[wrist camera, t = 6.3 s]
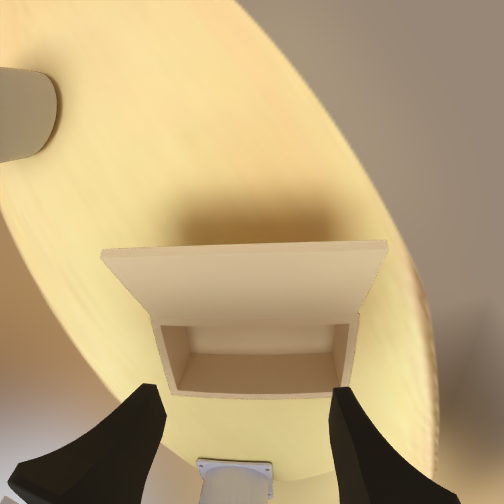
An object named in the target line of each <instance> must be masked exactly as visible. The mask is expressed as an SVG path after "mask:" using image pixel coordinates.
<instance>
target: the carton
mask: <svg viewBox="0 0 504 504" xmlns="http://www.w3.org/2000/svg"><path fill="white" fill-rule="evenodd" d="M359 317H360V314H359V312H358V313H357V315H356V316H340V317H319V318H291V319H175V318H153V317H152V316H150V319H151V323H152V327H153V331H154V335H155V339H156V343H157V346H158V350H159V354H160V357H161V361H162V364H163V368H164V371H165V375H166V378H167V381H168V385H169V388H170V391H171V394H172V395H178V396H190V397H204V398H222V399H261V400H270V399H309V398H327V397H332V393H333V388H336V387H349V383H350V378H351V372H352V366H353V360H354V353H355V347H356V340H357V332H358V325H359Z"/></svg>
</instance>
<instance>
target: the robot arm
mask: <svg viewBox="0 0 504 504" xmlns="http://www.w3.org/2000/svg"><path fill="white" fill-rule="evenodd" d="M166 418H167V415H166V412H165V409H164V407H163V404H162V401H161V398H160V395H159V392H158V389H157V386H156V385H155V384H146V383H143V384H142V385H141V386H140V387H138V388H137V389H136V390H135V391H134V392H133V393H132V394H131V395H130V396H129V397H128V398H127V399H126V400H125V401H124V402H123V403H122V404H121V405H120V406H119V407H118V408H117V409H115V410H114V411H113V412H112V413H111V414H110V415H109V416H107V417H106V418H105V419H104V420H103V421H101V422H100V423H99V424H98V425H97V426H96V427H94V428H93V429H91V430H90V431H88V432H87V433H86V434H84V435H83V436H81V437H79V438H78V439H76V440H75V441H73V442H71V443H69V444H67V445H66V446H64V447H62V448H60V449H58V450H56V451H53V452H51V453H49V454H46V455H44V456H41V457H38V458H35V459H32V460H28V461H25V462H21V463H19V464H18V465H17V467H16V468H15V470H14V472H13V473H12V475H11V476H10V478H9V480H8V485H9V487H10V488H11V489H12V490H13V491H14V492H15V493H16V494H18V496H19V497H20V498H22V499H23V500H24V501H25V502H26V503H27V504H141V499H142V494H143V490H144V485H145V481H146V479H147V475H148V473H149V470H150V467H151V465H152V462H153V459H154V457H155V454H156V452H157V449H158V446H159V444H160V441H161V438H162V435H163V431H164V427H165V422H166ZM329 434H330V444H331V449H332V454H333V459H334V465H335V470H336V475H337V481H338V486H339V497H340V504H461V503H460V501H459V499H458V497H457V495H456V494H454V493H452V492H450V491H449V490H447V489H445V488H443V487H441V486H440V485H438V484H436V483H435V482H433V481H432V480H430V479H429V478H427V477H426V476H425V475H423V474H422V473H421V472H419V471H418V470H417V469H416V468H414V467H413V466H412V465H411V464H409V463H408V462H407V461H406V460H405V459H404V458H403V457H402V456H401V455H400V454H399V453H398V452H397V451H396V450H395V449H394V448H393V447H392V446H391V445H390V444H389V443H388V442H387V441H386V439H385V438H384V437H383V436H382V435H381V433H380V432H379V431H378V430H377V428H376V427H375V426H374V424H373V423H372V422H371V420H370V419H369V417H368V416H367V415H366V413H365V412H364V410H363V409H362V407H361V405H360V404H359V402H358V401H357V399H356V397H355V396H354V394H353V392H352V390H351V388H350V387H336V388H333V393H332V400H331V407H330V413H329ZM196 464H197V466H198V469H199V471H200V474H201V476H202V479H203V486H202V490H201V495H200V500H199V504H267V503H268V499H272V498H273V477H272V464H271V463H253V462H231V461H217V460H206V459H197V461H196ZM0 504H18V503H17V502H15V501H13V500H12V499H10V498H8V497H7V496H4V498H3V499H2V501H1V503H0Z"/></svg>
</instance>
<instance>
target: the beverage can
mask: <svg viewBox="0 0 504 504" xmlns="http://www.w3.org/2000/svg"><path fill="white" fill-rule="evenodd" d="M56 111H57V99H56V93H55V89H54V86H53V84H52V82H51V81H50V79H49V78H48V77H47V76H46V75H44V74H42V73H40V72H35V71H29V70H21V69H13V68H5V67H0V163H3V162H7V161H12V160H17V159H22V158H27V157H30V156H32V155H34V154H35V153H37V152H38V151H39V150H40V149H41V148H42V147H43V145H44V144H45V143H46V141H47V140H48V138H49V136H50V134H51V131H52V129H53V126H54V122H55V118H56Z"/></svg>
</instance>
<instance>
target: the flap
mask: <svg viewBox="0 0 504 504" xmlns="http://www.w3.org/2000/svg"><path fill="white" fill-rule="evenodd" d="M387 252H388V245H387V241H386V240H363V241H325V242H289V243H256V244H226V245H197V246H169V247H142V248H117V249H102V252H101V256H100V258H101V260H102V261H103V262H104V263H105V264H106V266H107V267H108V268H109V269H110V270H111V272H112V273H113V274H114V275H115V276H116V277H117V279H118V280H119V281H120V282H121V283H122V284H123V285H124V287H125V288H126V289H127V290H128V291H129V292H130V293H131V294H132V296H133V297H134V298H135V299H136V300H137V301H138V302H139V303H140V304H141V305H142V306H143V308H144V309H145V310H146V311H147V312H148V313H149V314H150V315H151V316H152V317H153V318H175V319H291V318H319V317H340V316H356V315H357V313H358V311H359V309H360V307H361V305H362V303H363V302H364V300H365V298H366V296H367V294H368V292H369V290H370V288H371V286H372V284H373V281H374V279H375V277H376V275H377V273H378V271H379V269H380V267H381V265H382V263H383V260H384V258H385V256H386V254H387Z"/></svg>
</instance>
